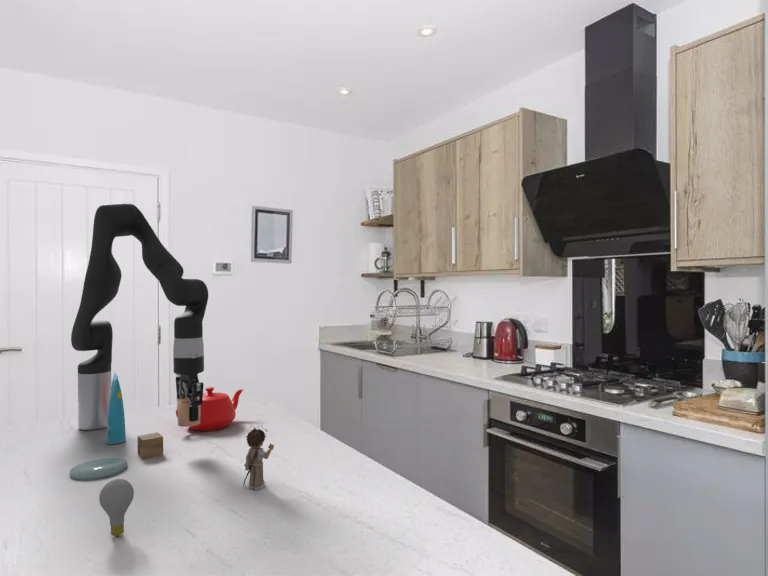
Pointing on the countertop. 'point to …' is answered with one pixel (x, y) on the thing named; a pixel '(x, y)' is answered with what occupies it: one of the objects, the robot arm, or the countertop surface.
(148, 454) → the block
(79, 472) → the dish
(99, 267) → the robot arm
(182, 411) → the dome-topped cylinder
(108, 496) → the light bulb
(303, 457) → the countertop surface
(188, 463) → the countertop surface
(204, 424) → the teapot
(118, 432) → the tube
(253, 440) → the toy
